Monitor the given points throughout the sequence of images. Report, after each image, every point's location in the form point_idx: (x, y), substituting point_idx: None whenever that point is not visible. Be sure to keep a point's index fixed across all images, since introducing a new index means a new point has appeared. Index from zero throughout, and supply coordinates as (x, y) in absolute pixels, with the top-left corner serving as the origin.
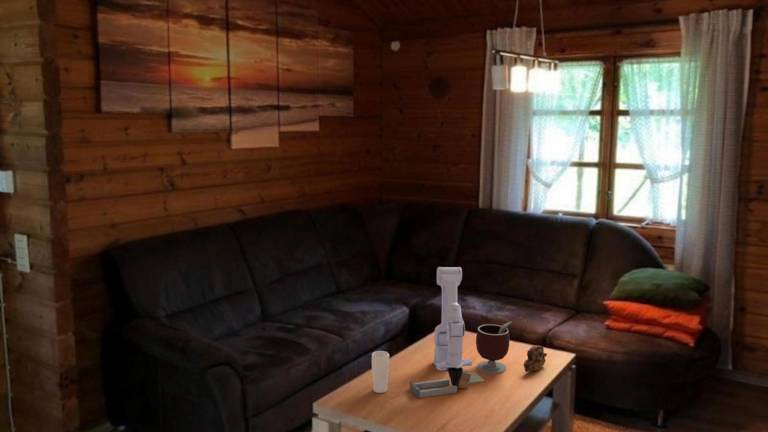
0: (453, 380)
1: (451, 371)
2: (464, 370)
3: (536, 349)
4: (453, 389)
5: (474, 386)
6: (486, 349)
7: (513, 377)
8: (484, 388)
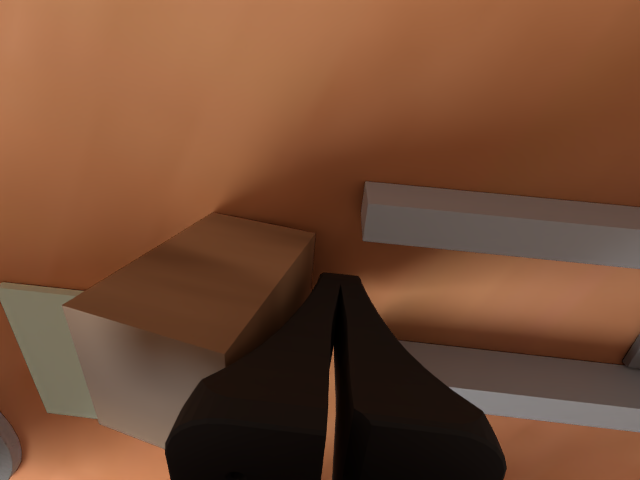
0: (375, 309)
1: (497, 449)
2: (132, 424)
3: None
4: (415, 198)
5: (124, 228)
6: None
7: None
8: (30, 148)
